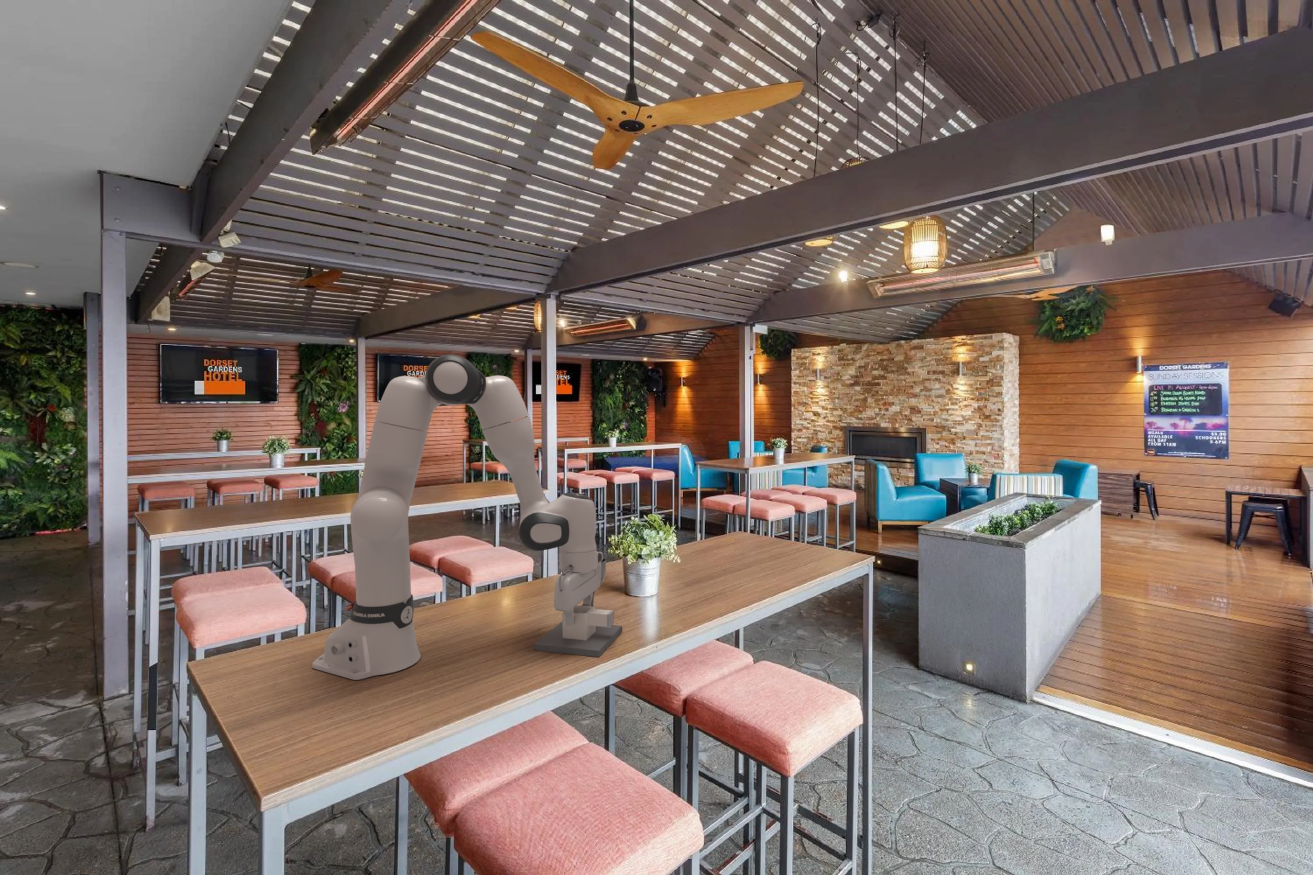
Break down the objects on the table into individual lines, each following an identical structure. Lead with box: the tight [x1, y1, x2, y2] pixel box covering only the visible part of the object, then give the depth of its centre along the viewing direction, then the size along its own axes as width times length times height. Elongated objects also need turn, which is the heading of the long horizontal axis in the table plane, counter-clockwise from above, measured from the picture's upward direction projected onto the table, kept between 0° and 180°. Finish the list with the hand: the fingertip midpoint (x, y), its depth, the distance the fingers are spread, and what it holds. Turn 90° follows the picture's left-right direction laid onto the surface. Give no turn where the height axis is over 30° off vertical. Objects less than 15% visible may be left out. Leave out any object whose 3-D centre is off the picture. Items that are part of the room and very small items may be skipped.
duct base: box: [533, 612, 623, 658], centre depth 145 cm, size 16×16×6 cm
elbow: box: [561, 604, 615, 640], centre depth 144 cm, size 11×6×6 cm, turn 74°
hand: (578, 617), depth 145 cm, fingers open, 8 cm apart
